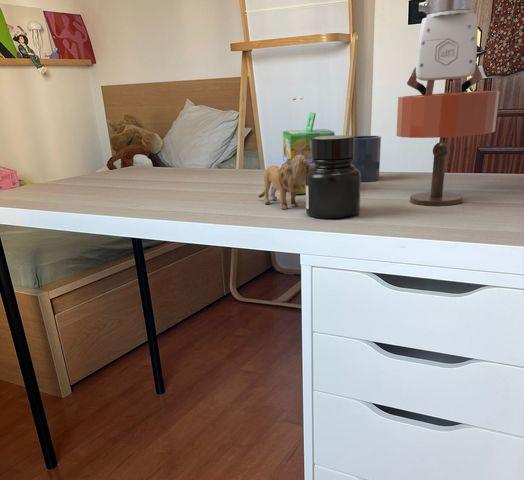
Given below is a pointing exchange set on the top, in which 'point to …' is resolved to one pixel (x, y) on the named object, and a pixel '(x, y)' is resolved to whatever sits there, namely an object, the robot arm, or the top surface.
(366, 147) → the cup
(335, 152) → the ink bottle
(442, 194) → the holder post
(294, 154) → the green juice box
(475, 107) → the bowl
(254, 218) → the top surface
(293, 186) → the lion figurine
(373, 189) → the top surface
